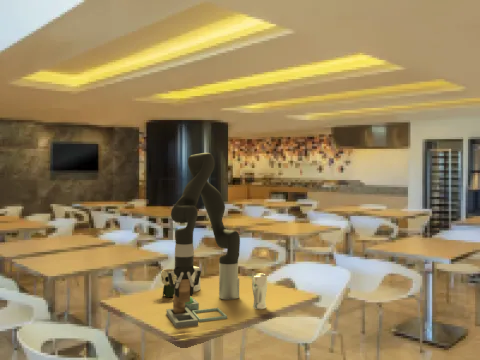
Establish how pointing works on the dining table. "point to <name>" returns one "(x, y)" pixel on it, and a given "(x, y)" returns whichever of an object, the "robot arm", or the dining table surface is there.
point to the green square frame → (210, 317)
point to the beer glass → (259, 290)
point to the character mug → (167, 283)
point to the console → (192, 305)
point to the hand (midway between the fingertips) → (183, 296)
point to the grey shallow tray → (182, 318)
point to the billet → (184, 291)
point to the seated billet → (178, 306)
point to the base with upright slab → (196, 287)
